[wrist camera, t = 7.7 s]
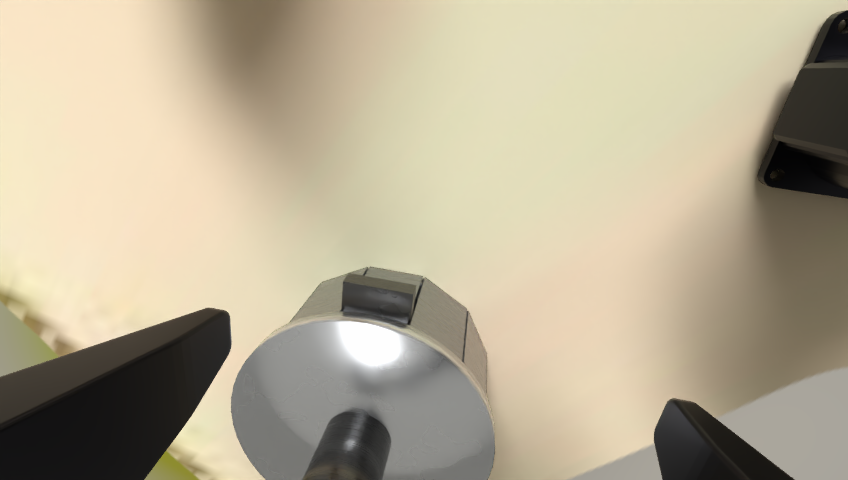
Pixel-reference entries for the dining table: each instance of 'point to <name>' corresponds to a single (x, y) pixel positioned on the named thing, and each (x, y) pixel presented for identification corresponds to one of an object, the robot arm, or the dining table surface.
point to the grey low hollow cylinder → (404, 309)
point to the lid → (360, 404)
